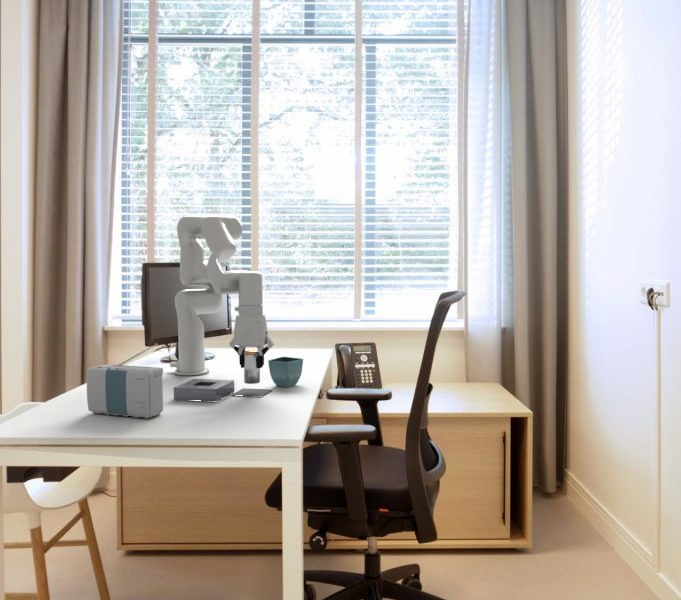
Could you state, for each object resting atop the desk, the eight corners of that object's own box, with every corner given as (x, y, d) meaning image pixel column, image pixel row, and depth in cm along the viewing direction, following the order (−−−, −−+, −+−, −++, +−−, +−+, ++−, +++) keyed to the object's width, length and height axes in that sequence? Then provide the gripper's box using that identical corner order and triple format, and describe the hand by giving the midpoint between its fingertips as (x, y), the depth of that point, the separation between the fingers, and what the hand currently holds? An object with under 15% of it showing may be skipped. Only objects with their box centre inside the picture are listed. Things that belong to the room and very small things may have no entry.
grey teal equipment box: (86, 414, 173) (83, 343, 172) (107, 408, 181) (104, 339, 180) (148, 421, 166) (146, 346, 165) (167, 414, 174) (165, 342, 172)
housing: (173, 400, 190) (173, 387, 190) (194, 390, 204) (193, 378, 203) (216, 402, 187) (216, 389, 187) (234, 392, 201) (234, 380, 200)
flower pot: (288, 389, 206) (288, 362, 205) (267, 386, 210) (267, 360, 210) (304, 384, 213) (303, 358, 212) (283, 382, 218) (283, 356, 217)
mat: (231, 396, 196) (231, 394, 196) (243, 389, 205) (243, 388, 205) (261, 397, 194) (261, 396, 194) (272, 390, 203) (272, 389, 203)
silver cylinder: (241, 383, 197) (241, 352, 197) (247, 380, 202) (246, 349, 201) (256, 384, 196) (256, 352, 196) (262, 381, 201) (261, 350, 200)
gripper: (220, 311, 196) (222, 368, 197) (272, 311, 192) (273, 370, 193) (230, 309, 203) (231, 364, 204) (280, 309, 200) (281, 366, 201)
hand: (251, 366), depth 199 cm, fingers closed on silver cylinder, 5 cm apart
